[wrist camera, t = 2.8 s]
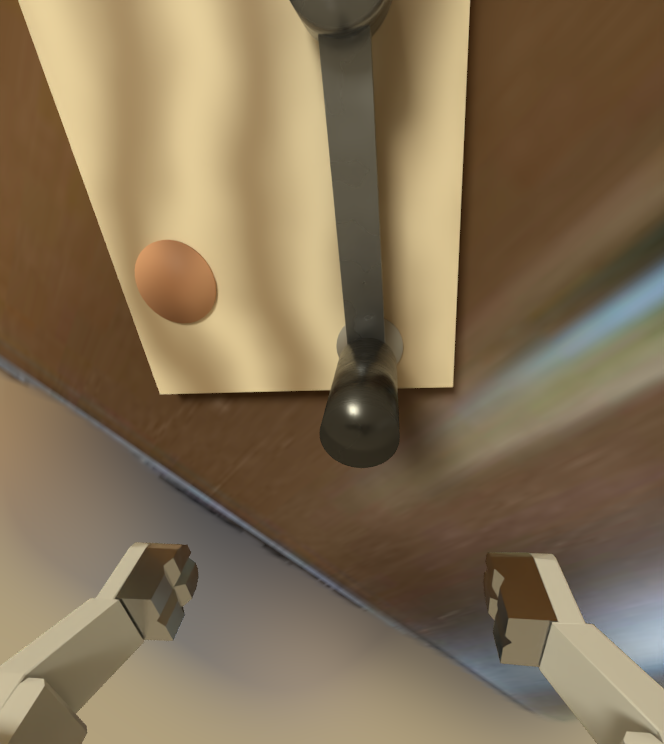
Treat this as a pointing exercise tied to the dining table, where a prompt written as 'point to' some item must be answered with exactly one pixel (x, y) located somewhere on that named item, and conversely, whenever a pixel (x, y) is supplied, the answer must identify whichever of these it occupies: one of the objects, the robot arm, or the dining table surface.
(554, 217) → the dining table surface
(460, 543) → the dining table surface
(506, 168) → the dining table surface
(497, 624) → the robot arm
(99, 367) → the dining table surface
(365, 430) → the lever
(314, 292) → the lever board
